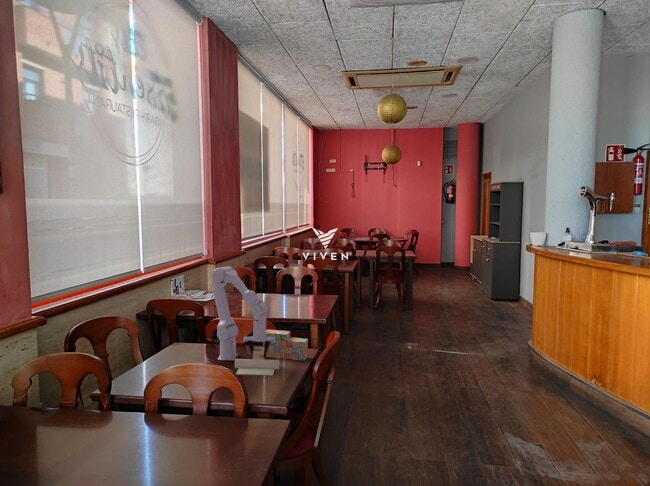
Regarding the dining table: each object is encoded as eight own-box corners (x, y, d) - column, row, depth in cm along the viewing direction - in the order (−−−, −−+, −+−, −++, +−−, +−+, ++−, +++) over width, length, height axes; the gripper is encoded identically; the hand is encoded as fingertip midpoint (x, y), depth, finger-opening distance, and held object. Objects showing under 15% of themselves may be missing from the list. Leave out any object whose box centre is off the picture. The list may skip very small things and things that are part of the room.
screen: (235, 367, 201) (235, 358, 200) (279, 368, 201) (279, 359, 201) (234, 368, 200) (234, 359, 199) (279, 369, 200) (279, 360, 200)
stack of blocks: (307, 357, 218) (308, 332, 218) (304, 361, 212) (305, 336, 211) (266, 353, 223) (267, 329, 222) (262, 356, 217) (262, 332, 216)
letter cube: (254, 358, 209) (254, 347, 209) (264, 358, 209) (265, 347, 209) (252, 361, 204) (252, 350, 204) (263, 362, 204) (263, 351, 204)
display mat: (238, 369, 199) (238, 368, 199) (274, 369, 199) (274, 368, 199) (236, 374, 192) (236, 373, 192) (273, 375, 192) (273, 374, 192)
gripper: (242, 330, 202) (241, 359, 202) (274, 331, 202) (273, 360, 203) (245, 326, 209) (244, 354, 210) (275, 327, 209) (275, 355, 210)
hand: (258, 356), depth 207 cm, fingers closed on letter cube, 5 cm apart
